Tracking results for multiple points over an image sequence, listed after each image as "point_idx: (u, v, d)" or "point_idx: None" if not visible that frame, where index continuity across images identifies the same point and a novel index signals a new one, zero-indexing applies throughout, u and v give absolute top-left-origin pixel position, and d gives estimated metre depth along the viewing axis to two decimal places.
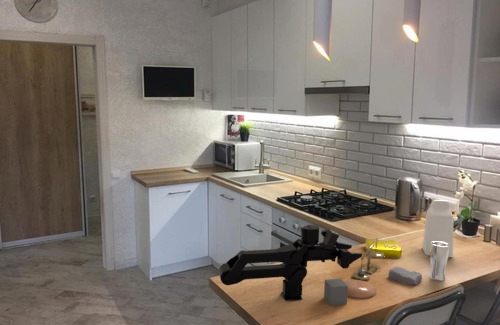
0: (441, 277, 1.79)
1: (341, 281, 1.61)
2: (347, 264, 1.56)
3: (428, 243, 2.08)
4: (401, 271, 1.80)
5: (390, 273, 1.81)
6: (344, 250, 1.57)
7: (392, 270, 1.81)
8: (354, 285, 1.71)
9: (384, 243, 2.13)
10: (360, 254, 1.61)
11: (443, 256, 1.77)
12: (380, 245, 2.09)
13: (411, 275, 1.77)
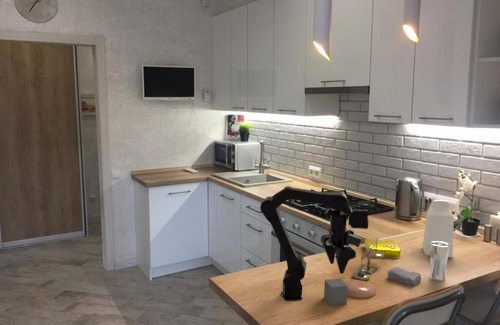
0: (441, 277, 1.79)
1: (341, 281, 1.61)
2: (344, 257, 1.48)
3: (428, 243, 2.08)
4: (400, 271, 1.80)
5: (389, 273, 1.81)
6: None
7: (391, 270, 1.80)
8: (354, 285, 1.71)
9: (383, 243, 2.13)
10: (343, 271, 1.54)
11: (443, 256, 1.77)
12: (379, 246, 2.09)
13: (410, 275, 1.76)
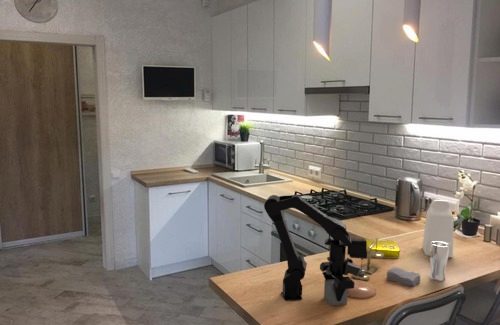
0: (441, 277, 1.79)
1: None
2: (343, 288, 1.50)
3: (428, 243, 2.08)
4: (399, 272, 1.79)
5: (388, 274, 1.80)
6: None
7: (390, 271, 1.80)
8: (354, 285, 1.71)
9: (382, 243, 2.12)
10: (340, 299, 1.57)
11: (443, 256, 1.77)
12: (378, 246, 2.09)
13: (409, 276, 1.76)
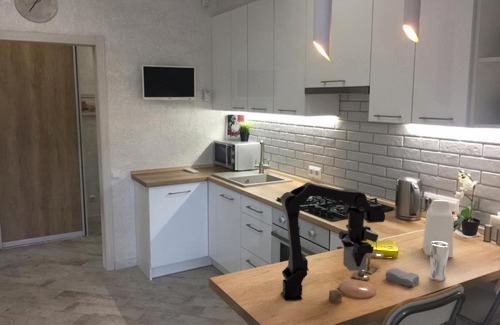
0: (441, 277, 1.79)
1: None
2: (362, 252, 1.55)
3: (428, 243, 2.08)
4: (398, 272, 1.79)
5: (387, 275, 1.79)
6: None
7: (389, 271, 1.79)
8: (354, 285, 1.71)
9: (381, 243, 2.12)
10: (359, 264, 1.62)
11: (443, 256, 1.77)
12: None
13: (408, 277, 1.75)
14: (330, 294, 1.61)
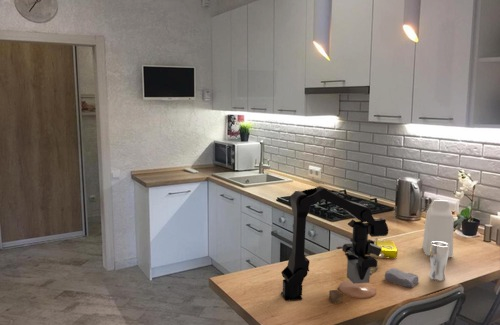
0: (441, 277, 1.79)
1: None
2: (366, 266, 1.58)
3: (428, 243, 2.08)
4: (397, 273, 1.78)
5: (386, 275, 1.79)
6: None
7: (388, 272, 1.79)
8: (354, 285, 1.71)
9: (380, 243, 2.12)
10: (363, 277, 1.65)
11: (443, 256, 1.77)
12: None
13: (407, 277, 1.75)
14: (330, 294, 1.61)
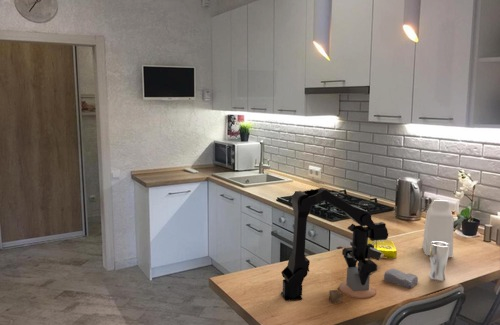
0: (441, 277, 1.79)
1: None
2: (366, 270, 1.59)
3: (428, 243, 2.08)
4: (397, 273, 1.78)
5: (386, 275, 1.79)
6: None
7: (388, 272, 1.78)
8: None
9: (380, 244, 2.12)
10: (364, 283, 1.64)
11: (443, 256, 1.77)
12: (375, 246, 2.08)
13: (407, 277, 1.75)
14: (330, 294, 1.61)
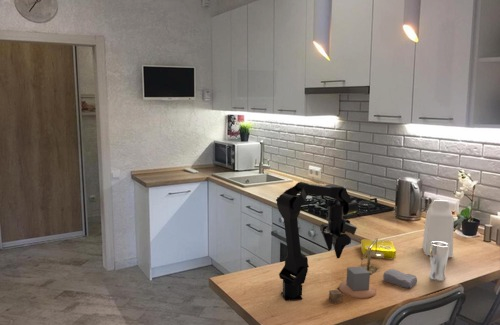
0: (441, 277, 1.79)
1: (363, 268, 1.70)
2: (340, 243, 1.65)
3: (428, 243, 2.08)
4: (396, 273, 1.77)
5: (385, 276, 1.78)
6: None
7: (387, 273, 1.78)
8: None
9: (379, 244, 2.12)
10: (339, 256, 1.70)
11: (443, 256, 1.77)
12: (374, 246, 2.08)
13: (406, 278, 1.74)
14: (330, 294, 1.61)
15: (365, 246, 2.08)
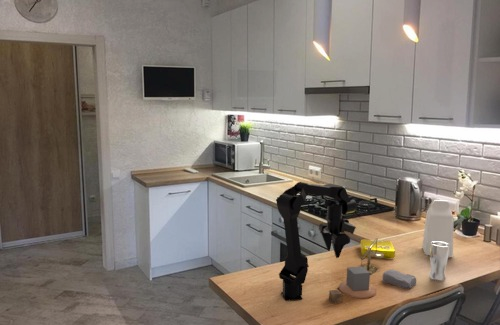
0: (441, 277, 1.79)
1: (363, 268, 1.70)
2: (339, 242, 1.65)
3: (428, 243, 2.08)
4: (395, 274, 1.77)
5: (384, 276, 1.78)
6: None
7: (386, 273, 1.77)
8: None
9: (378, 244, 2.12)
10: (338, 255, 1.71)
11: (443, 256, 1.77)
12: (373, 246, 2.08)
13: (405, 278, 1.74)
14: (330, 294, 1.61)
15: (364, 246, 2.08)
